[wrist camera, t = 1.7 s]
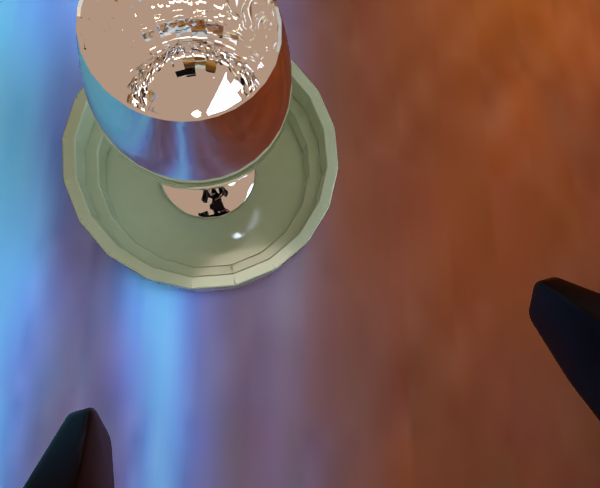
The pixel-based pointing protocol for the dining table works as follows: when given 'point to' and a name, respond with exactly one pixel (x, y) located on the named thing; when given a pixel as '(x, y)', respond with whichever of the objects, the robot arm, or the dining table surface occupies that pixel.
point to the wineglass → (188, 92)
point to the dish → (200, 232)
